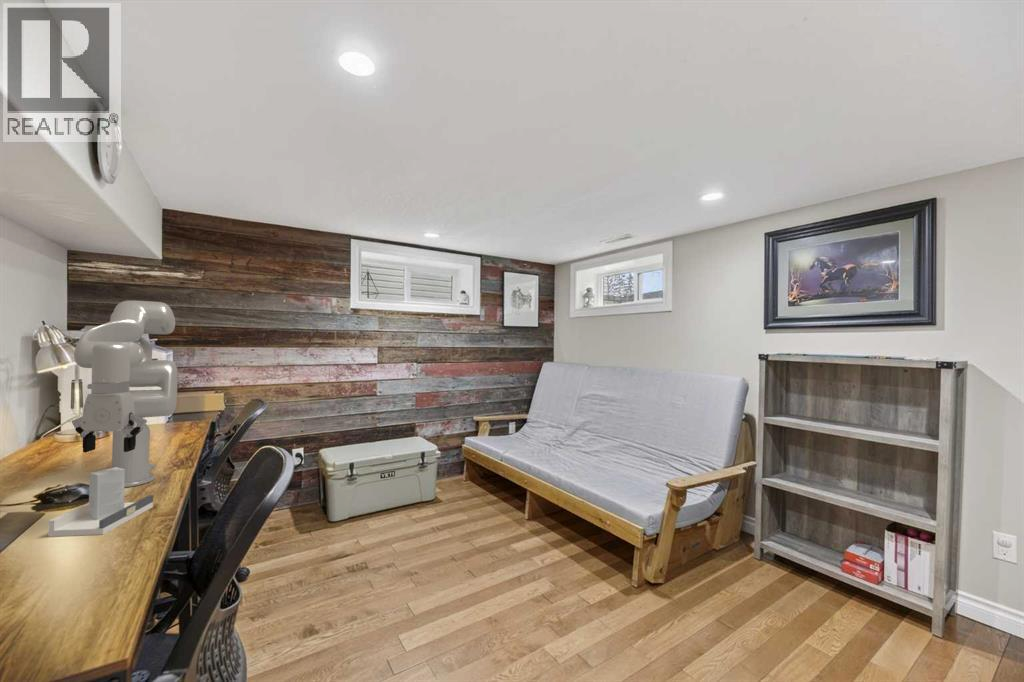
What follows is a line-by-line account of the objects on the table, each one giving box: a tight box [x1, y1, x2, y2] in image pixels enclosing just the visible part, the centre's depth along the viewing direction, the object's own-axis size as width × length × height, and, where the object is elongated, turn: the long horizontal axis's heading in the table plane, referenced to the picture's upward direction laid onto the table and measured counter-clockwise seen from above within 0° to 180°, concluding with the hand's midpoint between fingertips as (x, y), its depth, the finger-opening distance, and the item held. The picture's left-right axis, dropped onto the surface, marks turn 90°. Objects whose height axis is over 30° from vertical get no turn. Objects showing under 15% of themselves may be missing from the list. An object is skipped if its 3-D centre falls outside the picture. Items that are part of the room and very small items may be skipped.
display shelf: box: [47, 501, 154, 538], centre depth 114 cm, size 18×12×4 cm, turn 9°
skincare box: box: [88, 467, 125, 520], centre depth 114 cm, size 6×4×12 cm
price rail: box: [99, 494, 154, 529], centre depth 114 cm, size 18×1×2 cm, turn 9°
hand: (109, 450), depth 114 cm, fingers open, 9 cm apart
